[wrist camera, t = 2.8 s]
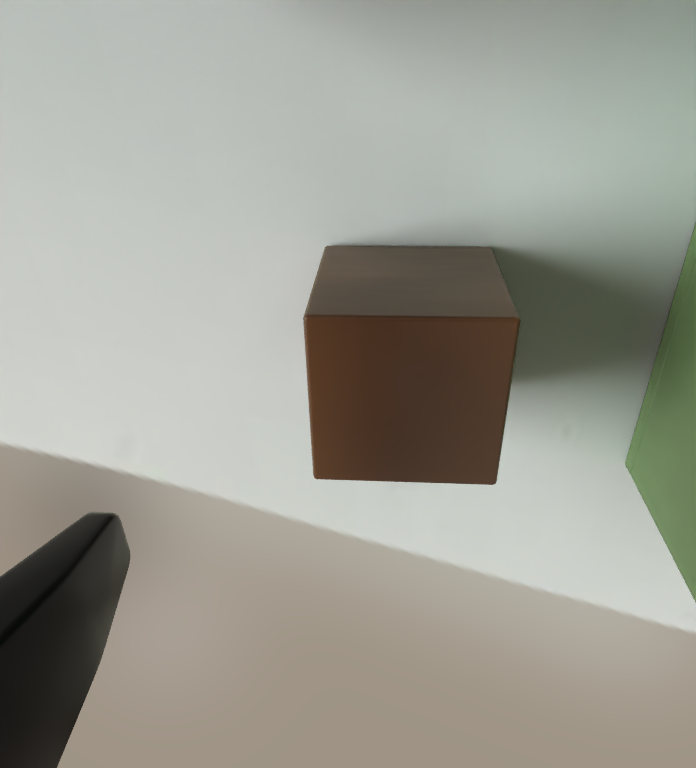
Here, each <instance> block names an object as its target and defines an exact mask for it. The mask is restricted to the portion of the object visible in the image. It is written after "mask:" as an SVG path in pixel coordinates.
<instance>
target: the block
mask: <svg viewBox="0 0 696 768" xmlns="http://www.w3.org/2000/svg"><path fill="white" fill-rule="evenodd" d="M303 320H304V335H305V351H306V367H307V382H308V398H309V413H310V429H311V445H312V460H313V475H314V478H316V479H332V480H363V481H394V482H425V483H456V484H487V485H493V484H495V483H496V481H497V475H498V468H499V461H500V455H501V448H502V441H503V435H504V428H505V421H506V415H507V408H508V401H509V395H510V388H511V381H512V375H513V368H514V361H515V355H516V348H517V341H518V335H519V328H520V318H519V315H518V313H517V310H516V308H515V305H514V303H513V301H512V298H511V296H510V293H509V291H508V288H507V286H506V283H505V281H504V278H503V276H502V273H501V271H500V269H499V266H498V264H497V261H496V259H495V256H494V254H493V251H492V249H491V248H490V247H404V246H327V247H325V249H324V252H323V256H322V259H321V262H320V265H319V269H318V272H317V275H316V279H315V282H314V285H313V288H312V292H311V295H310V298H309V301H308V305H307V308H306V311H305V314H304V318H303Z"/></svg>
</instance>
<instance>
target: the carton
mask: <svg viewBox="0 0 696 768" xmlns="http://www.w3.org/2000/svg"><path fill="white" fill-rule="evenodd" d="M625 465H626V467H627V469H628V471H629V473H630V474H631V476H632V478H633V480H634V482H635V484H636V486H637V488H638V490H639V492H640V494H641V496H642V498H643V500H644V502H645V504H646V506H647V508H648V510H649V512H650V514H651V516H652V518H653V520H654V522H655V523H656V525H657V527H658V529H659V531H660V533H661V535H662V537H663V539H664V541H665V543H666V545H667V547H668V549H669V551H670V553H671V555H672V557H673V559H674V561H675V563H676V565H677V567H678V569H679V571H680V573H681V574H682V576H683V578H684V580H685V582H686V584H687V586H688V588H689V590H690V592H691V594H692V596H693V598H694V600H695V602H696V224H695V227H694V231H693V234H692V238H691V241H690V244H689V248H688V251H687V255H686V258H685V261H684V265H683V268H682V272H681V275H680V278H679V282H678V285H677V289H676V292H675V295H674V299H673V302H672V306H671V309H670V312H669V316H668V319H667V323H666V326H665V329H664V333H663V336H662V340H661V343H660V346H659V350H658V353H657V357H656V360H655V363H654V367H653V370H652V374H651V377H650V380H649V384H648V387H647V391H646V394H645V397H644V401H643V404H642V408H641V411H640V414H639V418H638V421H637V425H636V428H635V431H634V435H633V438H632V442H631V445H630V448H629V452H628V455H627V459H626V462H625Z"/></svg>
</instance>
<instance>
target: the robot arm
mask: <svg viewBox="0 0 696 768" xmlns="http://www.w3.org/2000/svg"><path fill="white" fill-rule="evenodd" d="M129 562H130V550H129V546H128V543H127V539H126V536H125V533H124V530H123V526H122V523H121V520H120V518H119V516H118V515H117V514H115V513H110V512H91V513H88V514H86V515H84V516H83V517H82V518H80V519H79V520H77V521H76V522H75V523H73V524H72V525H70V526H69V527H68V528H67V529H65V530H64V531H62V532H61V533H60V534H58V535H57V536H55V537H54V538H53V539H51V540H50V541H49V542H47V543H46V544H45V545H43V546H42V547H40V548H39V549H38V550H36V551H35V552H33V553H32V554H31V555H29V556H28V557H27V558H25V559H24V560H23V561H21V562H20V563H18V564H17V565H16V566H14V567H13V568H12V569H10V570H9V571H7V572H6V573H5V574H3V575H2V576H1V577H0V768H57V766H58V763H59V761H60V759H61V756H62V754H63V751H64V749H65V747H66V744H67V742H68V739H69V737H70V735H71V732H72V730H73V727H74V725H75V722H76V720H77V718H78V715H79V713H80V710H81V708H82V706H83V703H84V701H85V698H86V696H87V693H88V691H89V688H90V686H91V684H92V681H93V679H94V676H95V674H96V671H97V669H98V666H99V663H100V661H101V658H102V655H103V651H104V648H105V645H106V642H107V638H108V635H109V632H110V628H111V625H112V622H113V618H114V615H115V611H116V608H117V605H118V601H119V598H120V594H121V591H122V587H123V584H124V580H125V578H126V574H127V571H128V567H129Z"/></svg>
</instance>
